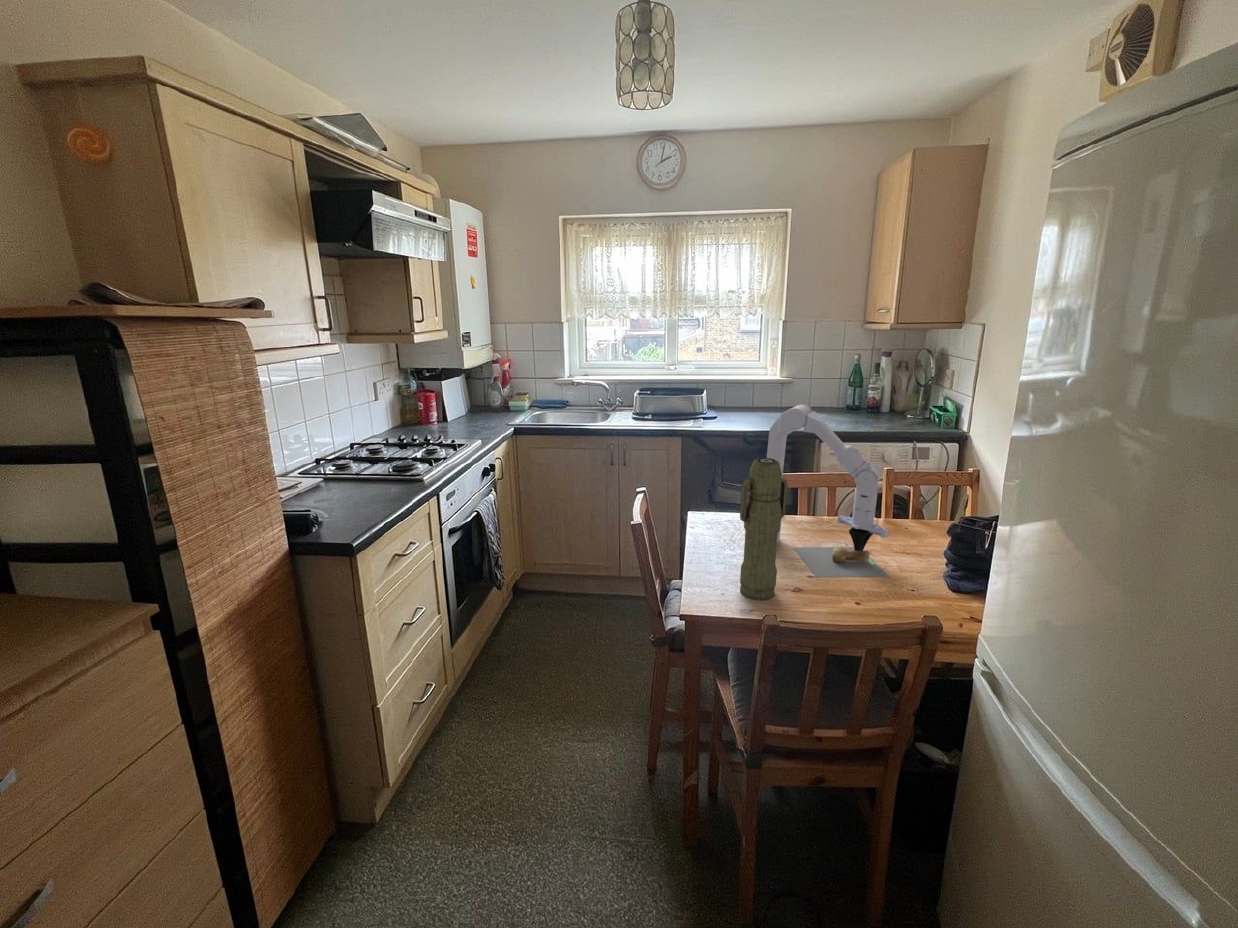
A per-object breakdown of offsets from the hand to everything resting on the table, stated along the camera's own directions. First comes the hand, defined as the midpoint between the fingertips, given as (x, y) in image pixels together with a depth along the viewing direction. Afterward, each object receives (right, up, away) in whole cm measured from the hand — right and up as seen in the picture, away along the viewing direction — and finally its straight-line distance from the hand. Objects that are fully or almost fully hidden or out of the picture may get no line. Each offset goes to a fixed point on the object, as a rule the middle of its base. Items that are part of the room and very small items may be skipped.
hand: (858, 553), depth 163 cm
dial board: (-6, -3, -1) cm, 7 cm away
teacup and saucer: (+13, +3, +24) cm, 28 cm away
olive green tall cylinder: (-33, -8, -17) cm, 38 cm away
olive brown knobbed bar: (-3, -2, -2) cm, 4 cm away
